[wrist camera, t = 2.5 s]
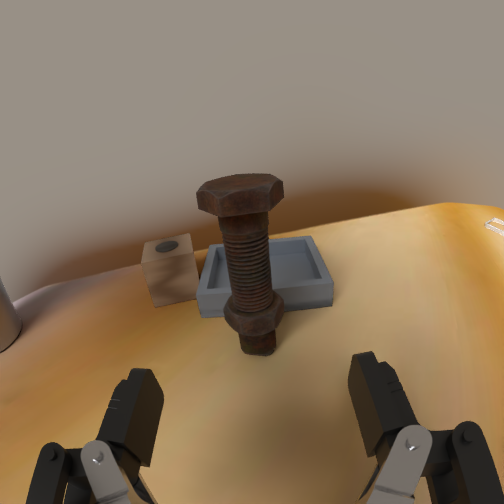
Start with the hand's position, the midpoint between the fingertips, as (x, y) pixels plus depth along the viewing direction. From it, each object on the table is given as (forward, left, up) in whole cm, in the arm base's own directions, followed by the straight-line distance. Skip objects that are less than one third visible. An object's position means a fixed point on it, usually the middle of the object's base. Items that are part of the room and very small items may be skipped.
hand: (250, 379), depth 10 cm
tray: (+1, +22, -10) cm, 24 cm away
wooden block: (-10, +22, -10) cm, 26 cm away
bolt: (0, +11, -10) cm, 15 cm away
